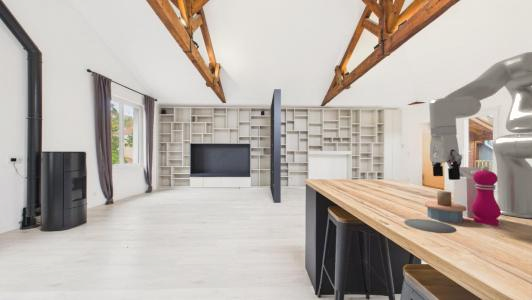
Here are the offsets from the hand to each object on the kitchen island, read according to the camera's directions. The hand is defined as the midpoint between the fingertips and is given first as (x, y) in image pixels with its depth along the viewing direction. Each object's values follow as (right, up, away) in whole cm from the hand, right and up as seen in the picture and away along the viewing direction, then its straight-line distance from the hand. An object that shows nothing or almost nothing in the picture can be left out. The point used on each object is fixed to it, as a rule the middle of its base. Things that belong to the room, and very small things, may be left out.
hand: (445, 177), depth 81 cm
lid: (-1, -11, 0) cm, 11 cm away
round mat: (-12, -15, -8) cm, 21 cm away
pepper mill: (+10, -15, -5) cm, 19 cm away
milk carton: (+12, -16, +3) cm, 20 cm away
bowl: (-1, -15, 0) cm, 15 cm away
